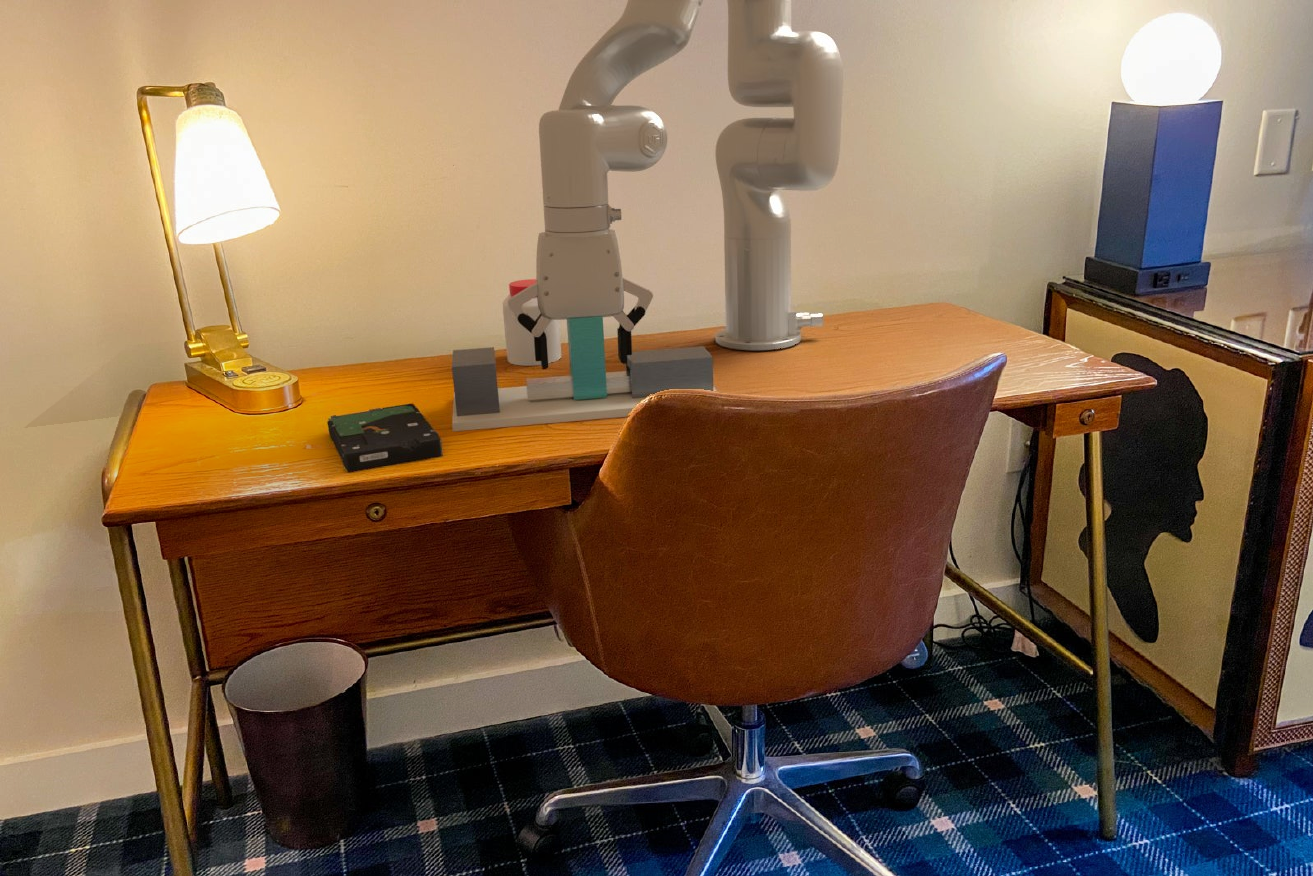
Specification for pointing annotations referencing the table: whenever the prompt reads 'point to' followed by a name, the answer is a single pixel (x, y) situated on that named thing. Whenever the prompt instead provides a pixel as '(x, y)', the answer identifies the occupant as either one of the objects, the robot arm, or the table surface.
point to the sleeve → (669, 370)
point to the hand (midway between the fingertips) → (584, 363)
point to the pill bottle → (520, 337)
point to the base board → (545, 410)
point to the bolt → (582, 367)
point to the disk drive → (383, 437)
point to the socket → (475, 381)
